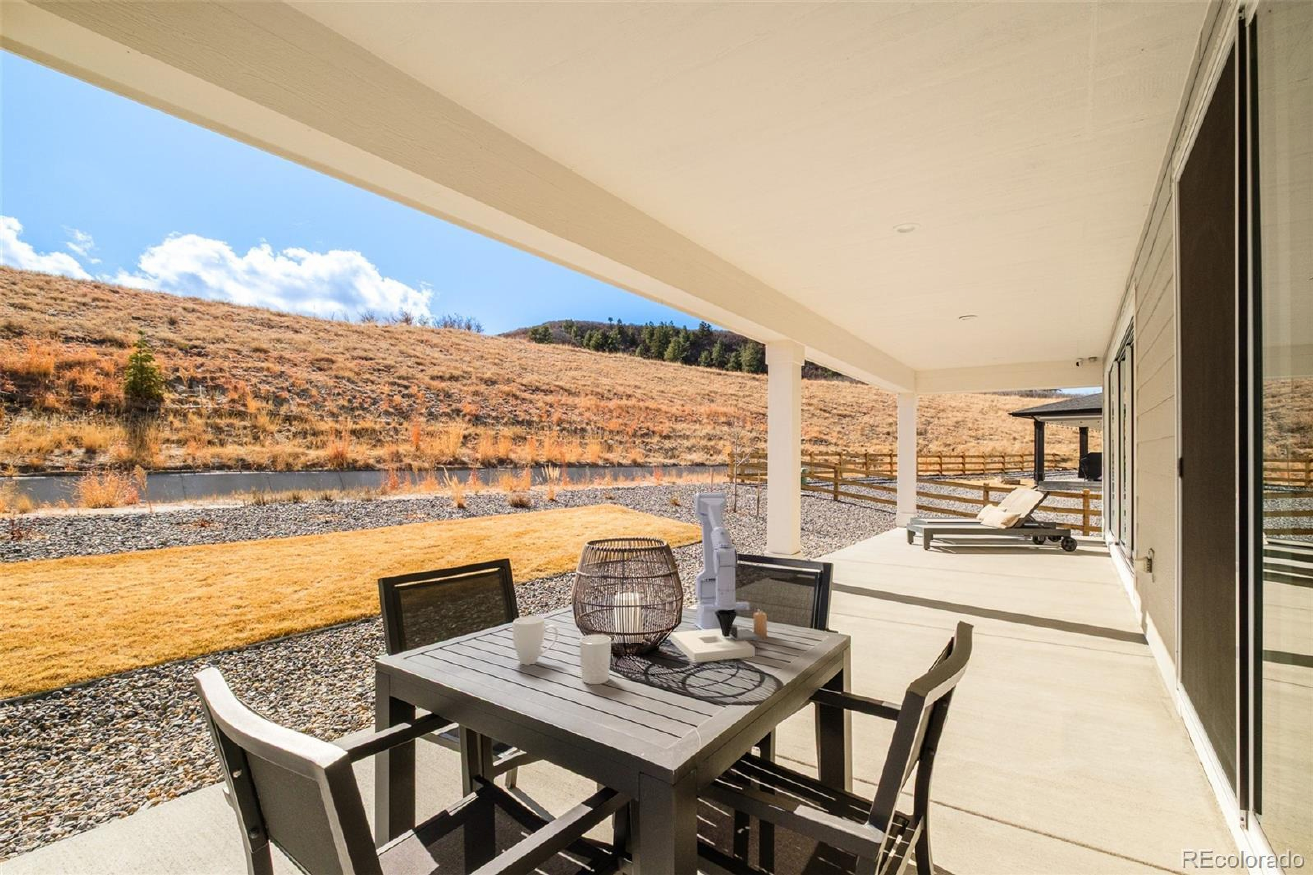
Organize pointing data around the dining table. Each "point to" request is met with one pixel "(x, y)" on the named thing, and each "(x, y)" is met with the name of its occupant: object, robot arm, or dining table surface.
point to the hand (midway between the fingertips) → (725, 635)
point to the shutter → (742, 634)
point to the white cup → (595, 658)
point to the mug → (530, 638)
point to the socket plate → (710, 645)
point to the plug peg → (760, 624)
